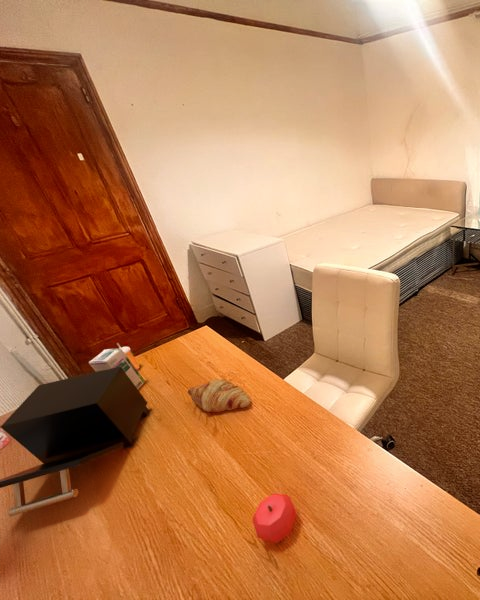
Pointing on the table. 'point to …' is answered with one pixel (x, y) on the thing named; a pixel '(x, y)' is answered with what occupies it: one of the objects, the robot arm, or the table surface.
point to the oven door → (50, 468)
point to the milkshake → (129, 355)
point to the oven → (78, 415)
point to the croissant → (219, 396)
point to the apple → (274, 518)
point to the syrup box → (117, 364)
